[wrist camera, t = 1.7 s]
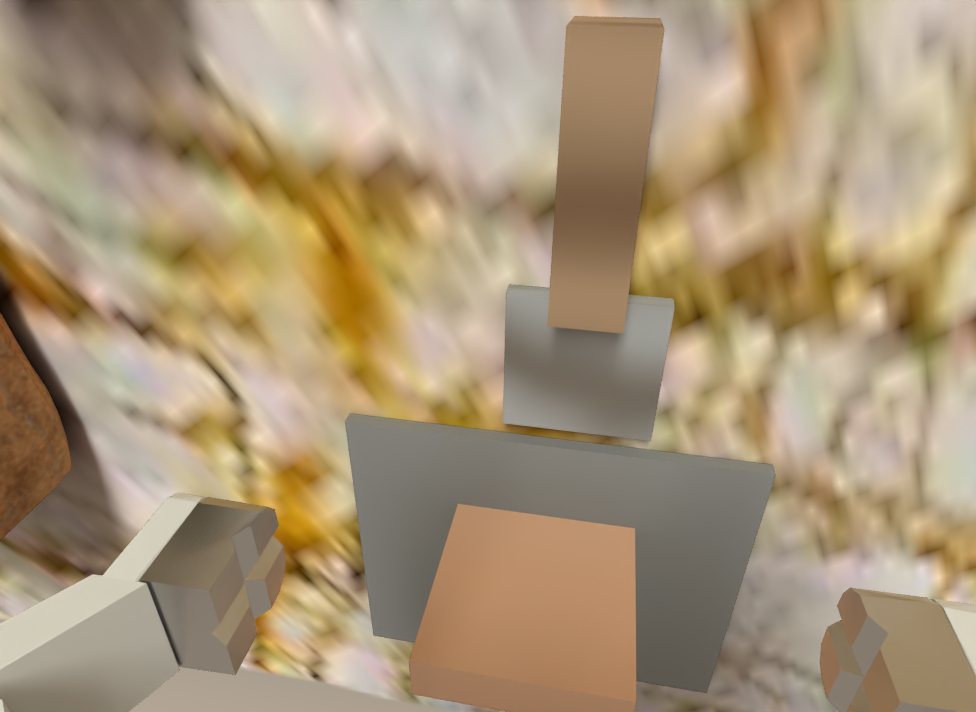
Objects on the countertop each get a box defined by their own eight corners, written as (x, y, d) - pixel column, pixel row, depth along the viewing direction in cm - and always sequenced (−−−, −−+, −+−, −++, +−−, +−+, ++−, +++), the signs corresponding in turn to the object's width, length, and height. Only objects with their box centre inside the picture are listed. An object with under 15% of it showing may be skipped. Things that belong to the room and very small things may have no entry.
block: (634, 528, 29) (636, 701, 22) (629, 561, 30) (628, 736, 24) (457, 503, 30) (408, 661, 24) (458, 536, 31) (411, 696, 25)
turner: (517, 14, 20) (500, 24, 18) (722, 19, 19) (735, 30, 17) (505, 411, 28) (493, 457, 25) (650, 428, 27) (652, 478, 25)
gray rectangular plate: (773, 464, 27) (775, 474, 26) (705, 682, 35) (706, 693, 34) (349, 413, 29) (345, 421, 29) (377, 626, 37) (373, 635, 37)
